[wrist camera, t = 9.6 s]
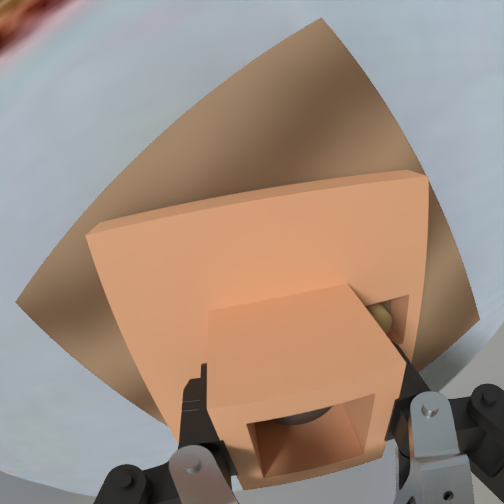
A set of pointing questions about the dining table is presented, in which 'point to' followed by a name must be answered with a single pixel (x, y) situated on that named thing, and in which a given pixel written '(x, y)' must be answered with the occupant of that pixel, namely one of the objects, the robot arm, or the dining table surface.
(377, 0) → the dining table surface
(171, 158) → the post base
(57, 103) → the dining table surface
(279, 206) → the flange plate
